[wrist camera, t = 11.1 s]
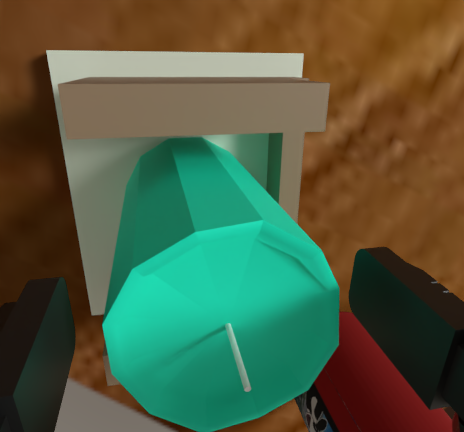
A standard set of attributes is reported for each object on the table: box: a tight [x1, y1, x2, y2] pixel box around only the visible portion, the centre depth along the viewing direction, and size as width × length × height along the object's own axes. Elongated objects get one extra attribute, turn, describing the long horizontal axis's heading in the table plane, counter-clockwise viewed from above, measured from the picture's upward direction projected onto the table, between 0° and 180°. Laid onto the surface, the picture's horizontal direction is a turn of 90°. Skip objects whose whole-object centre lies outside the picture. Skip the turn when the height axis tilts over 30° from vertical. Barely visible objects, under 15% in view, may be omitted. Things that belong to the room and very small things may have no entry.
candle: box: [102, 137, 339, 432], centre depth 13 cm, size 6×6×12 cm
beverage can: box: [295, 312, 453, 432], centre depth 20 cm, size 7×7×12 cm
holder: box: [46, 50, 330, 386], centre depth 16 cm, size 13×11×7 cm
